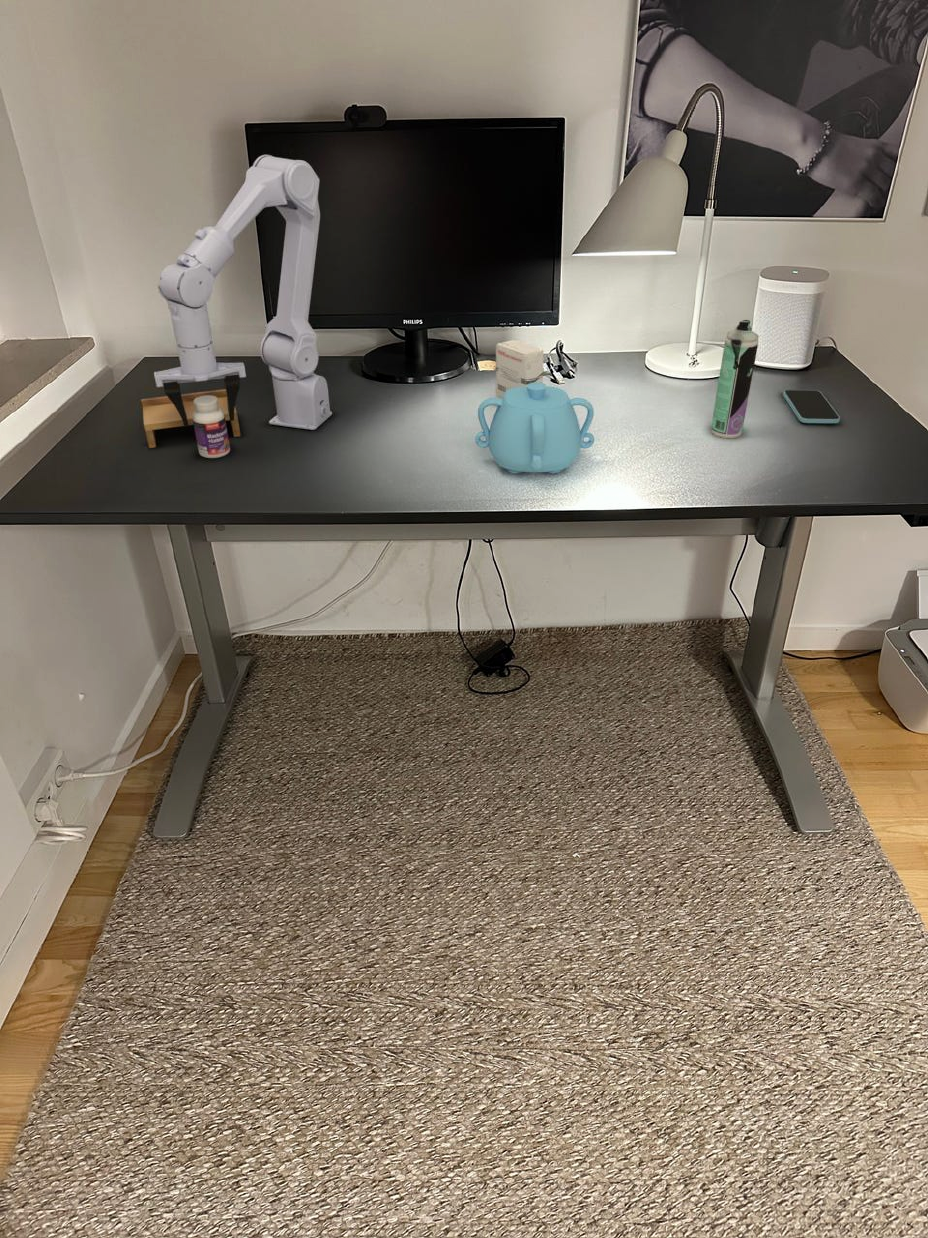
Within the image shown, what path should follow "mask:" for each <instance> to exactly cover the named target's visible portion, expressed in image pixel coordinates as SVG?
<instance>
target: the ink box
mask: <svg viewBox="0 0 928 1238" xmlns="http://www.w3.org/2000/svg"><path fill="white" fill-rule="evenodd" d="M543 379H544V349H541V348H538V347H535V346H533V345H531V344H527V343H525V342H521V341H520V340H516V339H511V340H508V341H503V342H498V343H497V344H495V398H499V399H502V397H503V395H504V394H505V392H506V391H507V390H509V389H511V388H515V387H522V386H527V385H528V384H530V383H533V382H539V383H543V384H544V382H543V381H544V380H543Z"/></svg>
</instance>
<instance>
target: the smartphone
mask: <svg viewBox="0 0 928 1238" xmlns="http://www.w3.org/2000/svg"><path fill="white" fill-rule="evenodd" d="M782 397H783V398H784V399H785V402H787V404H788V405H789V407H790V409H791V410H792V412H793V413H794V415H795V416H796V418H797V420H798V421H799V422H800V423H804V424H839V423H840V420H841V416H840V415H839V414H838V413H837V411H836V409H834V407H833V406H832V405H831V403H830V402H829V401H828V399H827V398H826V396H825V395H824V394H823V393H822V391H820V390H816V389H812V390H811V389H785V390H783V394H782Z"/></svg>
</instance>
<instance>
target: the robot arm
mask: <svg viewBox="0 0 928 1238" xmlns="http://www.w3.org/2000/svg"><path fill="white" fill-rule="evenodd" d="M319 189H320V178H319V176H318V175H317V173H316V171H314V169H313V167H312V166H311V165H310V163H309V162H307V161H305V160H301V159H291V158H290V159H289V158H283V157H277V156H273V155H271V154H263V155H260V156H258V157H257V158H256V159H255V160H254V162H253V164H252V166H250V167H249V168H248V169H247V170H246V172H245V181H244V183H243V184H242V186H241V187H240V189H239V190H238V192H237V193H236V195H235V196H234V198H233V199H232V201H231V202H230V203H229V205H228V207H227V208H226V209H225V211H224V213H223V214H222V215H221V217H220V218H219V220H218V221H217V223H216V224H215V226H204V227H203V228H202V229H200V228H199V229H197V230H196V232H195V233H194V237H195V238H194V240H192V242H191V243H190V245H189V246H188V247H187V249H185V250H184V252H183V254H179V256H178V257H177V259H176V260H177V261H176V263H172V264H169V265H167V266H166V267H165V268H164V269H163V270H162V272H161V274H160V277H159V284H157V285H156V287H157V290H158V293H159V294H160V296H161V297H162V298H163V299H164V300H165V301H166V303H167V307H168V310H169V312H170V318H171V322H172V327H173V334H174V338H175V344H176V348H177V353H178V354H177V355H178V359H179V364H180V366H178V367H173V368H170V369H169V368H168V369H164V370H159V371H153V377H154V381H155V384H156V385H155V387H156V388H161V387H162V388H163V390H164V394H165V396H167V397H168V398H169V399H170V400H171V401H172V403H173V404H174V406H175V407H176V409H177V411H178V412H179V414H180V416H181V418H182V421H183V424H184V426H183V427H189V425H188V420H187V415H186V412H185V408H184V405H183V401H182V396H181V394H182V391H181V387H180V384H184V383H194V382H197V383H198V382H206V381H211V380H220V379H223V383H224V389H226V394H227V403H228V412H229V418H230V420H229V422H230V421H232V420H234V408H236V401H237V398H238V394H239V391H240V388H241V379H242V378H246V377H247V374H246V367H245V363H244V362H217V359H216V353H215V346H214V341H213V336H212V330H211V325H210V324H211V323H210V319H209V312H208V306H207V302H209V300H210V298H211V296H212V291H213V290H212V289H213V285H214V283H215V280H216V278H217V276H218V275H219V274H220V272H221V271H222V270H223V268H224V267H225V266H226V265H227V263H228V262H229V261H230V259H231V258H232V257H233V256H234V254H235V246H234V241H235V240H236V239H237V238H238V237H239V236H240V235H241V234H242V232H243V231H245V229H246V228H247V227H248V226H249V225H250V224H251V223H252V222H253V221H254V220H255V218H256V217H257V216H258V215H259V214H260V213H261V211H262V210H263V209H265V208H271V207H276V209H277V210H278V212H279V213H280V215H281V216H282V217H283V218H284V220H285V223H286V224H285V233H284V241H283V252H282V260H281V270H280V271H281V272H280V280H279V287H278V288H279V290H278V297H277V307H276V316H275V317H273V318H272V319H271V320H270V321H269V322H268V323H267V324H266V328H265V333H264V336H263V338H262V340H261V343H260V346H259V354H260V358H261V360H262V361H263V363H264V364H265V365H267V366H268V370H269V373H271V379H272V387H273V394H274V401H275V407H276V415H275V416H273V418H271V419H270V420H269V421H268V424H269V425H273V426H280V427H281V426H282V427H288V428H294V429H302V430H303V429H304V430H310V431H315V430H316V429H318V427H320V426H321V425H322V424H323V423H324V422H325V421H327V420H328V418H330V417H331V416H332V415H333V412H332V411H331V407H330V405H331V404H330V397H329V387H328V382H327V379H326V378H325V377H324V376H322V375H318V374H316V373H315V370H316V369H317V366H318V364H319V358H320V357H319V350H318V346H317V344H318V343H317V341H318V335H317V333H316V331H315V330H314V329H313V327H312V326H311V324H310V322H309V314H310V306H311V298H312V289H313V282H314V273H315V263H316V255H317V248H318V239H319V230H320V221H321V211H320V204H319Z"/></svg>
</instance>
